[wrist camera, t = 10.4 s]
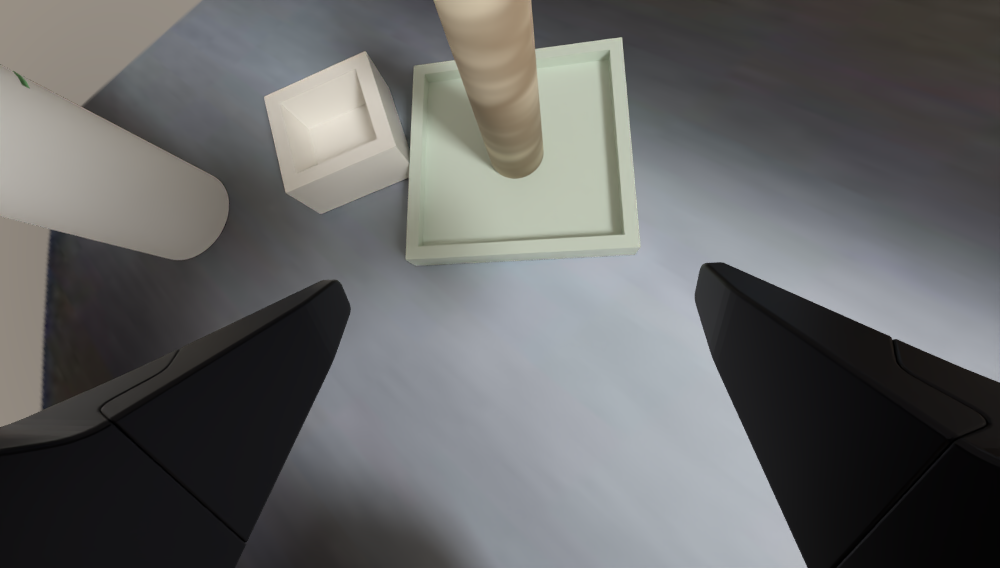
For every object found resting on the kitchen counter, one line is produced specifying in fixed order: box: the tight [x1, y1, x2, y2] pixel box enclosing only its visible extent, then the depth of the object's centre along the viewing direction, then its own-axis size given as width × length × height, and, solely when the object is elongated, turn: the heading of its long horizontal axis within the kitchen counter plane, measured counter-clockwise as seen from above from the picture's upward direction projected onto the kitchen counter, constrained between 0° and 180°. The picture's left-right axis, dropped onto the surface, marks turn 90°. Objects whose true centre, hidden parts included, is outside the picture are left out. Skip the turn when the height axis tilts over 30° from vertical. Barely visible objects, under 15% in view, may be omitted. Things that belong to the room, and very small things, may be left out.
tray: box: [406, 37, 640, 266], centre depth 24 cm, size 14×14×2 cm
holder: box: [264, 51, 410, 214], centre depth 25 cm, size 8×8×4 cm
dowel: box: [434, 0, 544, 179], centre depth 17 cm, size 4×4×14 cm
